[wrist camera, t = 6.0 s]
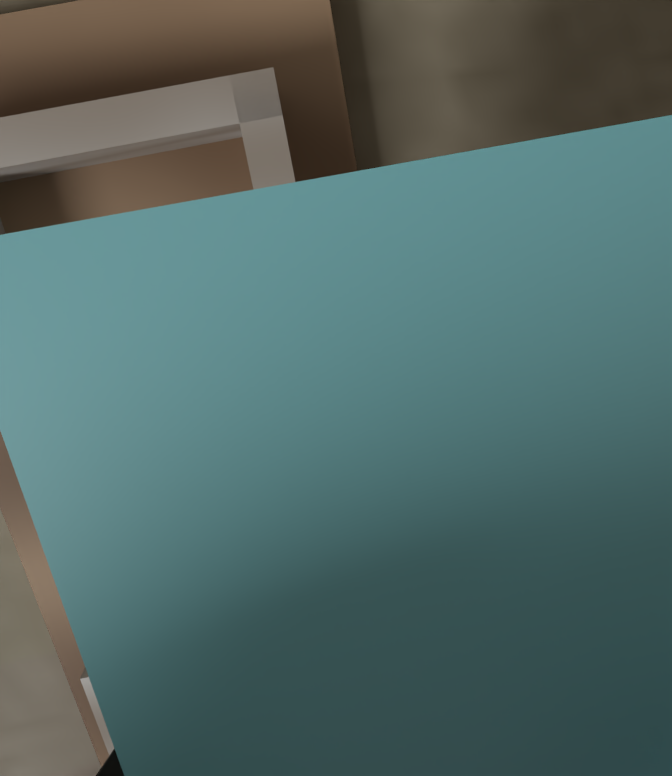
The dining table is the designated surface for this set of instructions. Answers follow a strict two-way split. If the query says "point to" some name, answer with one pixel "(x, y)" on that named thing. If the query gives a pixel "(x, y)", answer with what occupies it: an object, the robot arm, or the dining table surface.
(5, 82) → the wooden bracket tray
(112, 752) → the robot arm
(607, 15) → the dining table surface
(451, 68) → the dining table surface
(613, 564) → the teal rectangular block
